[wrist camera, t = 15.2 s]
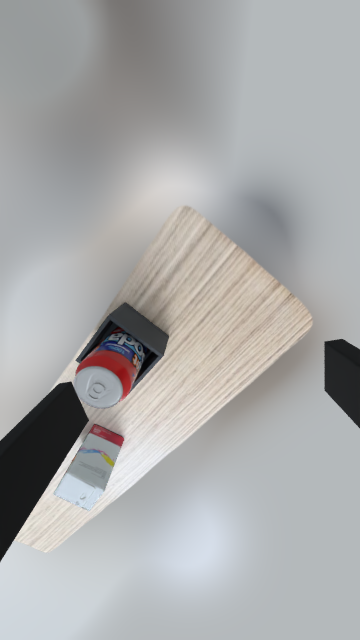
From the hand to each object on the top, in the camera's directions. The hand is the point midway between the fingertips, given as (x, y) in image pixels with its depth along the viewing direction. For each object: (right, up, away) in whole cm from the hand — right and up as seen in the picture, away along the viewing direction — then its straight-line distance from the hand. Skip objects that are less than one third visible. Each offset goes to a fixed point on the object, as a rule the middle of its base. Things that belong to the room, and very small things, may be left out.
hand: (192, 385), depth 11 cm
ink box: (-20, -27, +41) cm, 53 cm away
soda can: (-10, -1, +30) cm, 32 cm away
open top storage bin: (-10, 0, +31) cm, 33 cm away
